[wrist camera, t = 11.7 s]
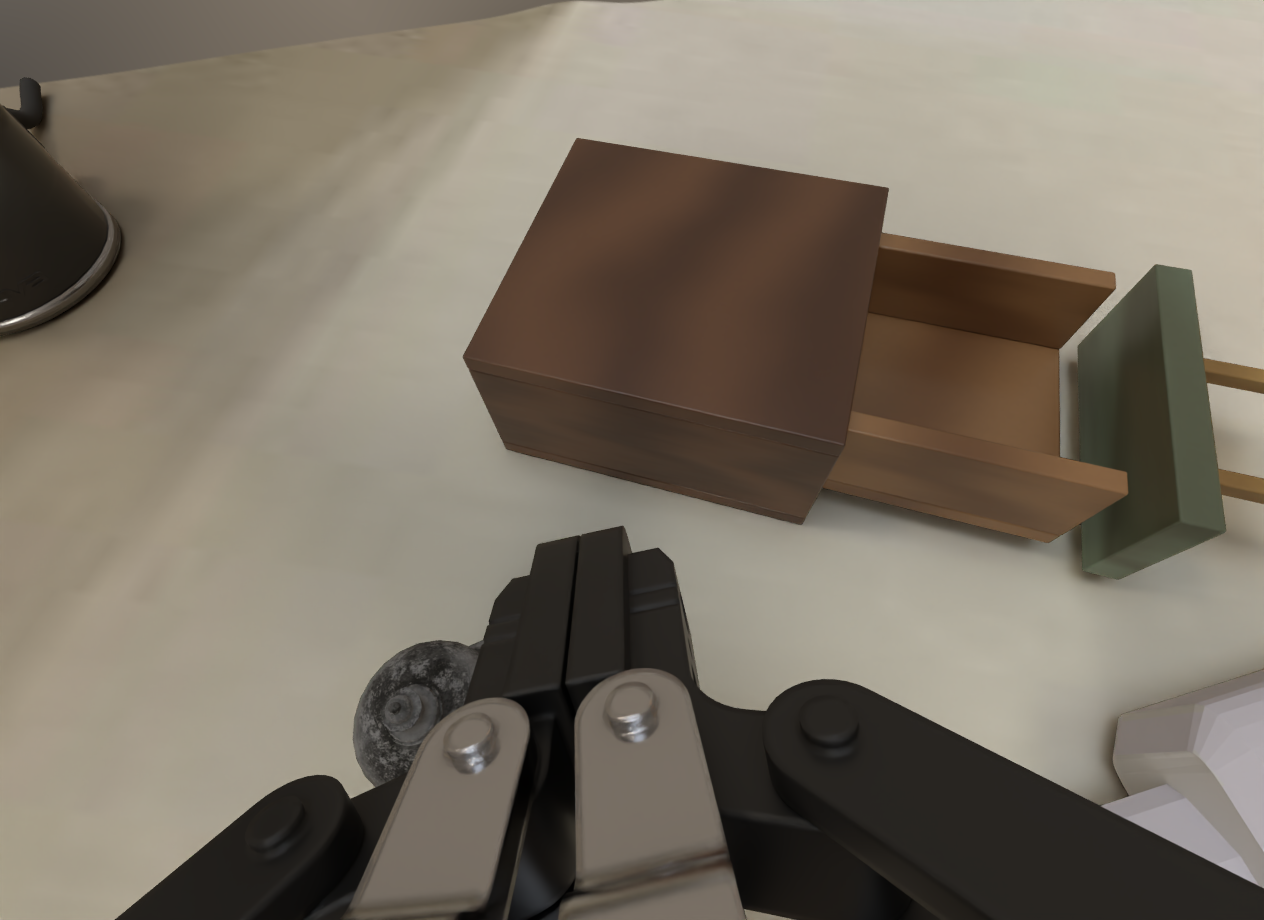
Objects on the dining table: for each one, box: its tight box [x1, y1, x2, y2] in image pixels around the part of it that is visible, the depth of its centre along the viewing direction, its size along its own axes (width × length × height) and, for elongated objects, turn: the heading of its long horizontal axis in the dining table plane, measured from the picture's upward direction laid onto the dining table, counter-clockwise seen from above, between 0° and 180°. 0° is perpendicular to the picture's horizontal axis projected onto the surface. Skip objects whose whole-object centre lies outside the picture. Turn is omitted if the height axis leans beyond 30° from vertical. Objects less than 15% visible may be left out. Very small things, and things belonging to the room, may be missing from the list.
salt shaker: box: [353, 640, 484, 787], centre depth 15 cm, size 6×6×12 cm
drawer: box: [822, 233, 1264, 579], centre depth 22 cm, size 16×10×5 cm, turn 73°
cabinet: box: [463, 138, 889, 524], centre depth 25 cm, size 12×11×6 cm
